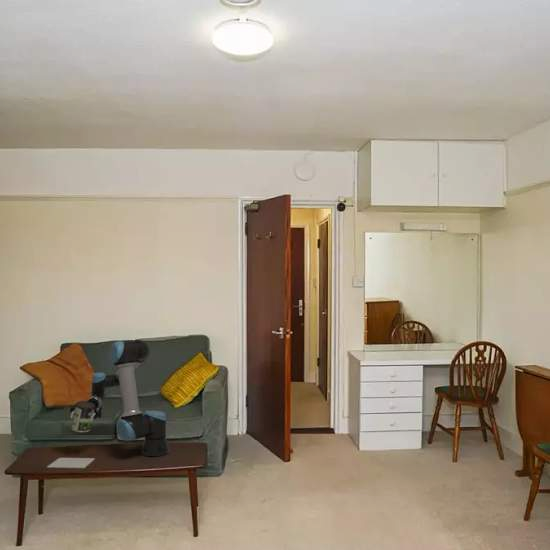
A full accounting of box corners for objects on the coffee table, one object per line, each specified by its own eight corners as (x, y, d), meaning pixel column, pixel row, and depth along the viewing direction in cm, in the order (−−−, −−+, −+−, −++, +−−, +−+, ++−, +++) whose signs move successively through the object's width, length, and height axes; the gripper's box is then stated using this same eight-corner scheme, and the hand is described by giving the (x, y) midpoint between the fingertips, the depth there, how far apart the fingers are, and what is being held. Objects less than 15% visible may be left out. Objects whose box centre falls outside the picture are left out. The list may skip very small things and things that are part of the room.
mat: (95, 459, 286) (95, 458, 286) (84, 468, 272) (84, 467, 272) (59, 458, 288) (59, 457, 288) (46, 467, 274) (46, 466, 274)
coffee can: (93, 427, 297) (98, 403, 296) (85, 434, 287) (90, 409, 286) (76, 423, 298) (81, 399, 297) (67, 429, 288) (72, 405, 287)
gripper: (110, 413, 311) (100, 428, 289) (72, 406, 309) (59, 420, 287) (113, 401, 310) (103, 415, 288) (75, 394, 309) (62, 406, 286)
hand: (81, 417), depth 288 cm, fingers closed on coffee can, 10 cm apart
